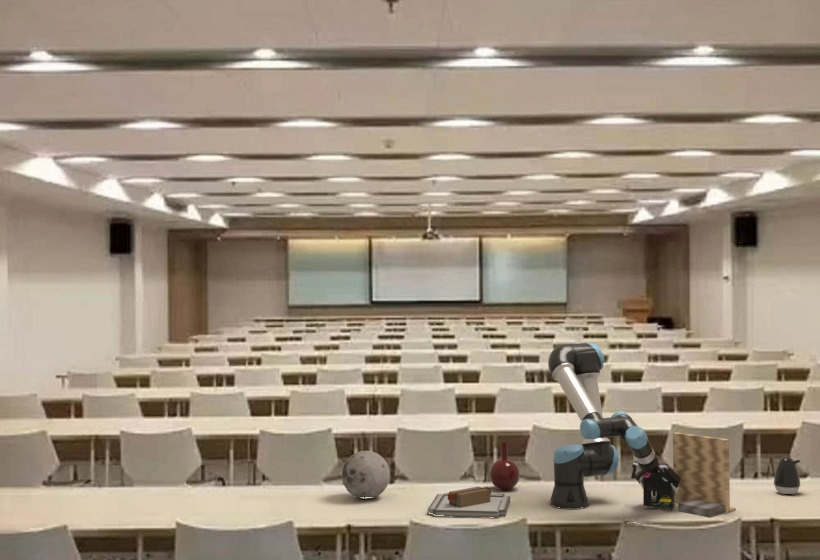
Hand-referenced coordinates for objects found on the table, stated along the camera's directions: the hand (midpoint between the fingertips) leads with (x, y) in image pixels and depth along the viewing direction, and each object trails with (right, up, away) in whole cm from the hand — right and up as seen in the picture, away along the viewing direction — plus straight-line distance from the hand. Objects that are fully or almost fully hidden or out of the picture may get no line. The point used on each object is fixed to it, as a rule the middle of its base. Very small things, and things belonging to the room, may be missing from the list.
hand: (661, 489), depth 398 cm
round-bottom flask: (-58, -8, +35) cm, 69 cm away
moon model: (-118, -9, +23) cm, 120 cm away
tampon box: (-1, -7, -2) cm, 7 cm away
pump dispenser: (+56, -5, +17) cm, 59 cm away
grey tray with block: (-75, -9, +2) cm, 76 cm away
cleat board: (+13, -6, -6) cm, 15 cm away
